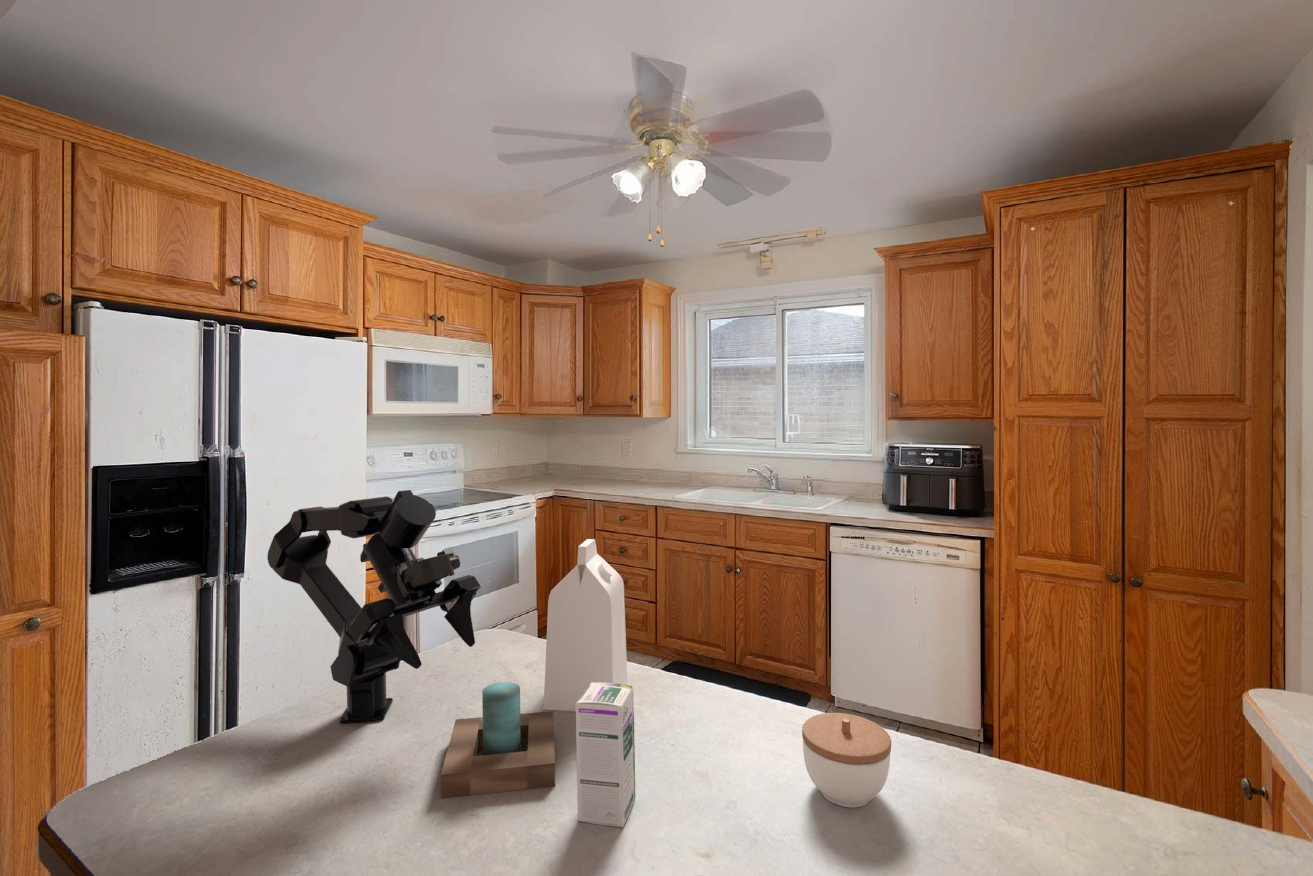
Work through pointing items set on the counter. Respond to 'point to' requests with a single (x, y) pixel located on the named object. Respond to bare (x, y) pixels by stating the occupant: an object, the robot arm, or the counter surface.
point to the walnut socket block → (499, 759)
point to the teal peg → (501, 718)
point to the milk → (584, 631)
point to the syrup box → (605, 754)
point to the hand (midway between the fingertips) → (447, 655)
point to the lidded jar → (846, 757)
